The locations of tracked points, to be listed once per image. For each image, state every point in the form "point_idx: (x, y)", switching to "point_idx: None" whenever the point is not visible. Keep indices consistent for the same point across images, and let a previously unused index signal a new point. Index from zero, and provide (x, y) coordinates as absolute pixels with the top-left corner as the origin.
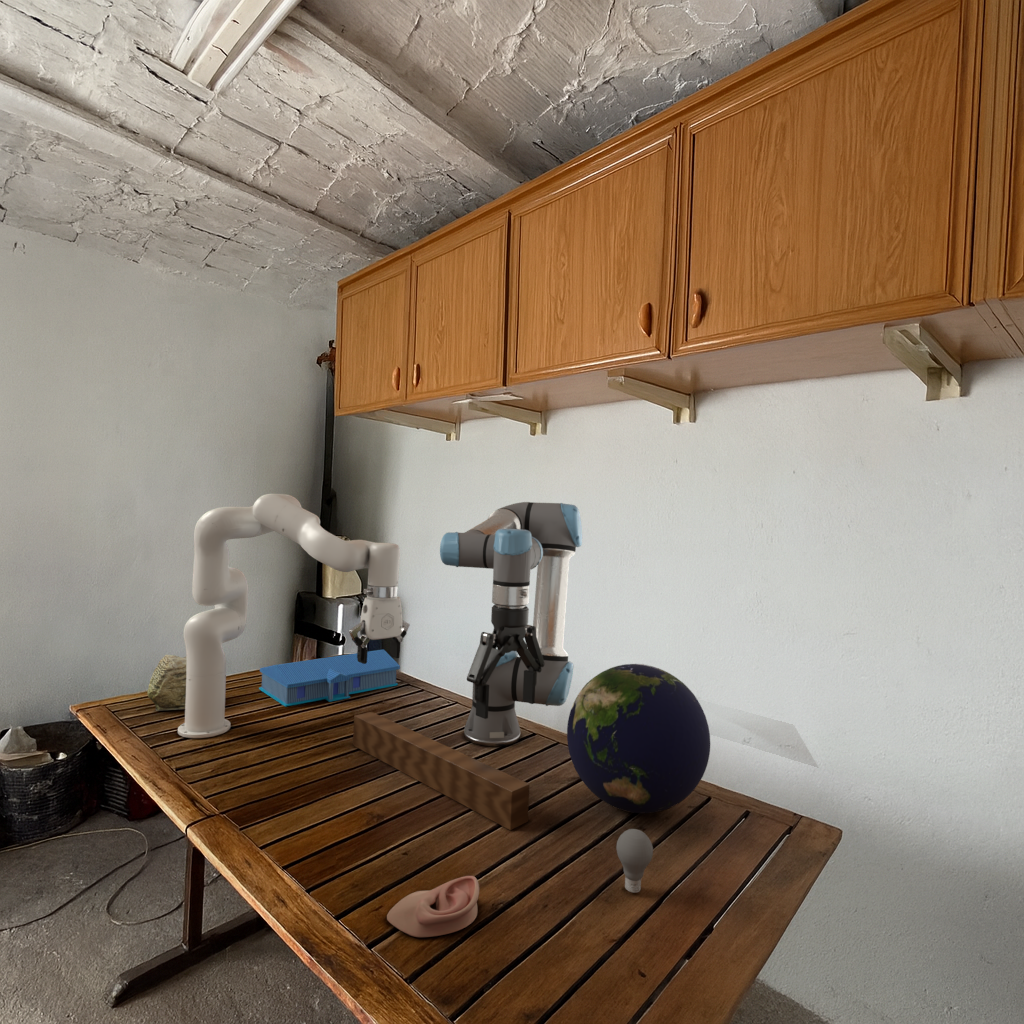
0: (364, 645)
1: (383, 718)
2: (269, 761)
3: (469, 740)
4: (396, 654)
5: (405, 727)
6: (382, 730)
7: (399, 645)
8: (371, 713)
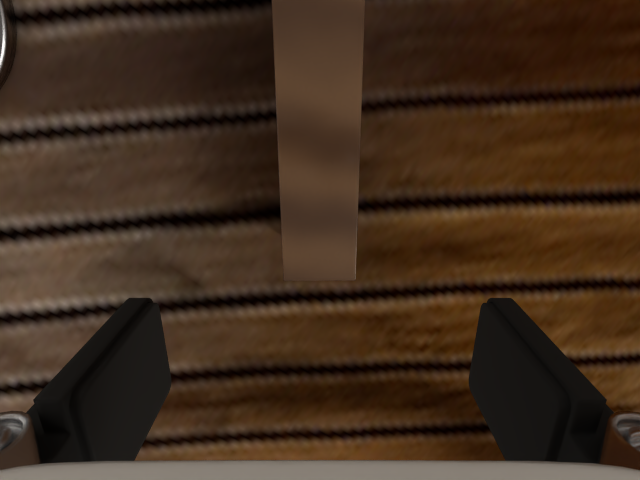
0: (624, 443)
1: (287, 194)
2: (560, 280)
3: (12, 15)
4: (144, 323)
5: (275, 47)
6: (361, 92)
7: (64, 374)
8: (294, 263)
